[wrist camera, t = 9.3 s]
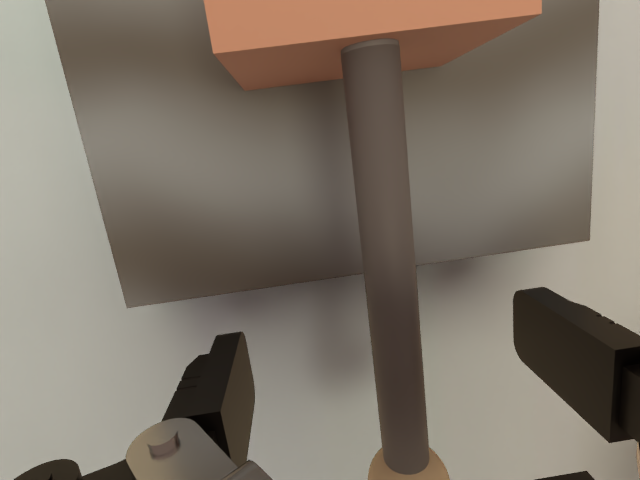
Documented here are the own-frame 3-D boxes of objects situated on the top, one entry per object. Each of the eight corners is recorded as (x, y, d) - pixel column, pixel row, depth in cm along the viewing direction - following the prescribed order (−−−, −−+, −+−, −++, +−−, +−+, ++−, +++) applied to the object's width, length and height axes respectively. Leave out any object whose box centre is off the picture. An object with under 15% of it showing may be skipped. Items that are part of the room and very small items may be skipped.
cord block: (205, -150, 10) (127, -418, 5) (429, -173, 11) (549, -449, 6) (300, 432, 15) (306, 576, 10) (457, 406, 15) (539, 535, 10)
